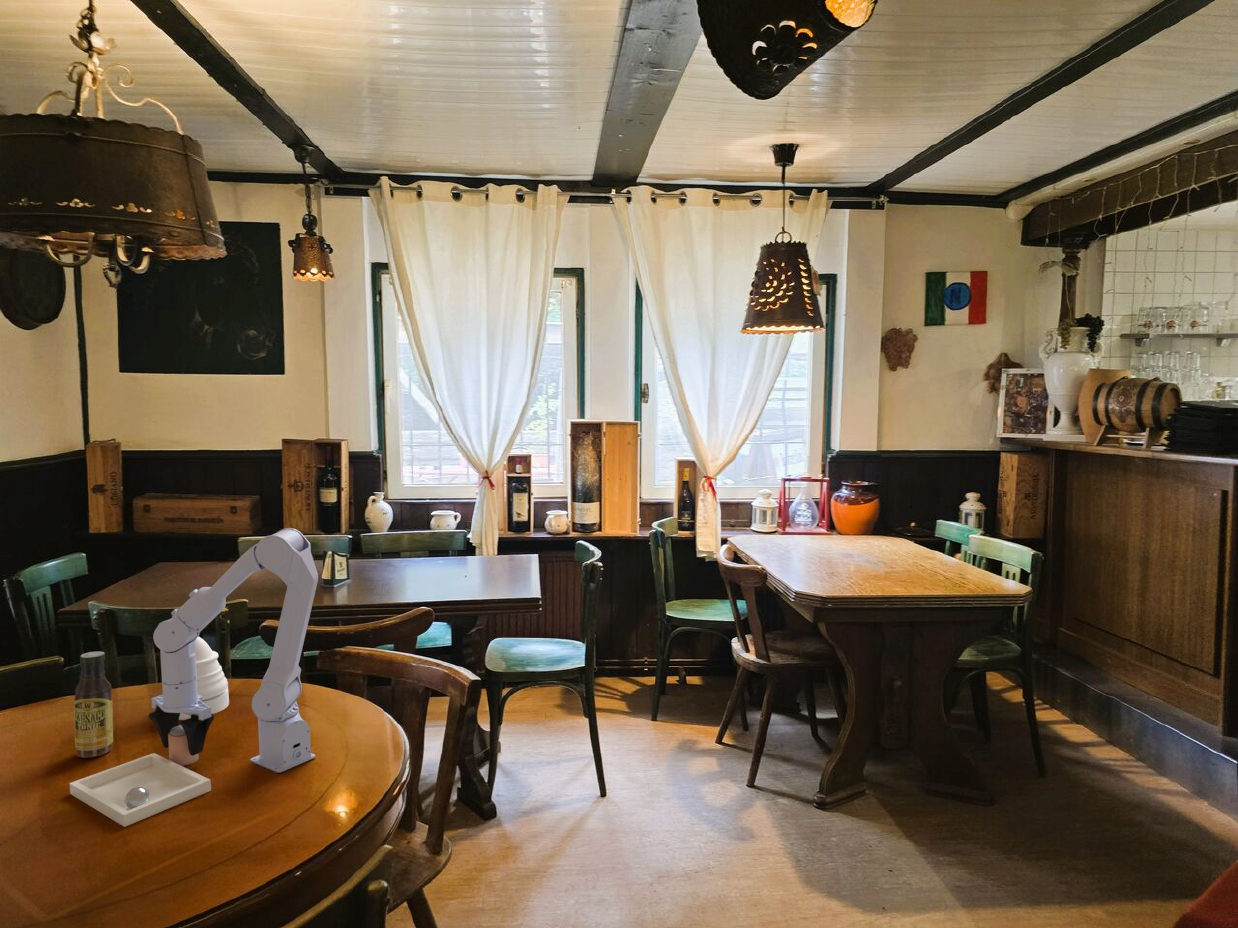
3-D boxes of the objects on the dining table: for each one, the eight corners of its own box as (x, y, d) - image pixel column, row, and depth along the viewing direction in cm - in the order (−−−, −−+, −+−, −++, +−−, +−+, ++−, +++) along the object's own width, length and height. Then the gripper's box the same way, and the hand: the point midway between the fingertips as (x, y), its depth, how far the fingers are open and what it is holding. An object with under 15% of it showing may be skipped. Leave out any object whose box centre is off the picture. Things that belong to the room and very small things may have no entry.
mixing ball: (153, 806, 131) (152, 786, 131) (131, 815, 128) (130, 794, 128) (143, 800, 133) (142, 780, 133) (121, 809, 130) (120, 789, 130)
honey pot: (168, 703, 179) (163, 626, 178) (230, 694, 184) (226, 619, 183) (160, 723, 167) (155, 641, 166) (227, 713, 172) (223, 634, 171)
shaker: (203, 761, 149) (201, 726, 148) (178, 771, 145) (175, 735, 144) (190, 755, 151) (188, 720, 151) (165, 765, 147) (162, 729, 147)
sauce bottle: (70, 761, 150) (63, 660, 148) (83, 748, 156) (76, 651, 154) (109, 757, 151) (102, 657, 150) (120, 743, 157) (114, 647, 156)
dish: (211, 793, 136) (210, 779, 136) (124, 830, 125) (123, 815, 124) (154, 765, 147) (154, 752, 147) (70, 796, 136) (69, 782, 136)
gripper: (224, 678, 147) (227, 747, 148) (174, 667, 154) (178, 734, 155) (189, 690, 141) (193, 763, 142) (139, 679, 147) (143, 748, 148)
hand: (183, 749), depth 148 cm, fingers open, 7 cm apart
